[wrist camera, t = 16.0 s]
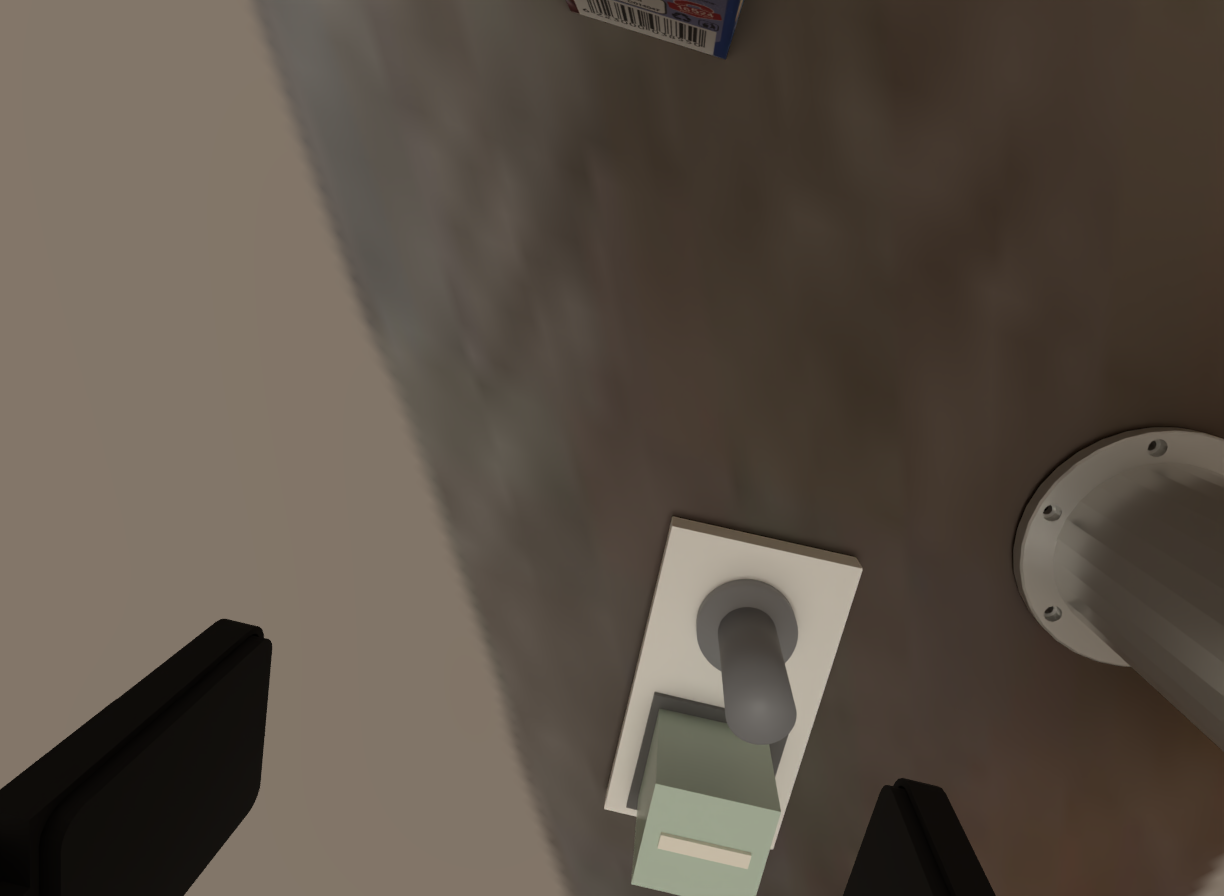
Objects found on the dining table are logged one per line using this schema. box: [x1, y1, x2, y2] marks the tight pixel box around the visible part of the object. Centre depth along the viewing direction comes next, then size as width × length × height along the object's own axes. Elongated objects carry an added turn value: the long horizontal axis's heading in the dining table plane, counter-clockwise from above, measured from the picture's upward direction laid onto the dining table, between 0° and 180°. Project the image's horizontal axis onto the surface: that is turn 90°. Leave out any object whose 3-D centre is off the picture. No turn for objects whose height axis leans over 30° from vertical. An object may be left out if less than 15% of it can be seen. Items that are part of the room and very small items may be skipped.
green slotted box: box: [631, 708, 781, 896], centre depth 38 cm, size 6×6×6 cm
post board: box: [604, 516, 863, 849], centre depth 37 cm, size 18×10×10 cm, turn 169°
